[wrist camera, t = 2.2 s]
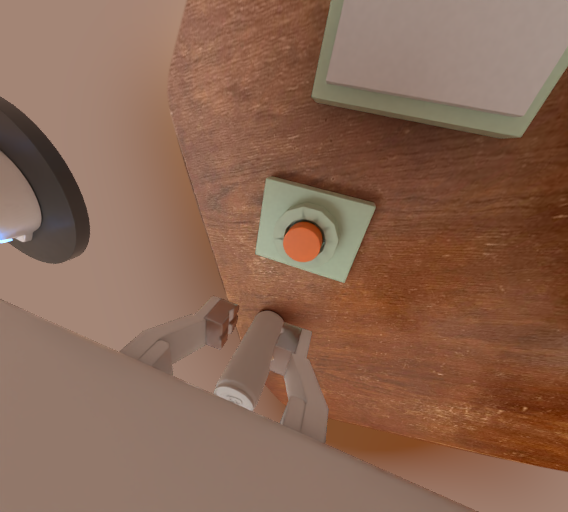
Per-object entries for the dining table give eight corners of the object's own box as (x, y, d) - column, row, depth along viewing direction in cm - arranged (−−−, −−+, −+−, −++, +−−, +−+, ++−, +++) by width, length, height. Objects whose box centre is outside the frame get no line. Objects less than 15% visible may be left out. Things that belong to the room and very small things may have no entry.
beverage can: (255, 305, 32) (208, 380, 22) (286, 311, 31) (252, 393, 21) (257, 329, 34) (216, 408, 24) (286, 336, 33) (256, 421, 23)
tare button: (284, 248, 23) (279, 256, 21) (291, 217, 21) (286, 222, 20) (317, 258, 22) (314, 267, 21) (327, 227, 21) (325, 233, 19)
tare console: (260, 248, 27) (248, 261, 24) (271, 175, 23) (258, 180, 20) (344, 275, 26) (343, 292, 23) (374, 202, 21) (378, 211, 18)
